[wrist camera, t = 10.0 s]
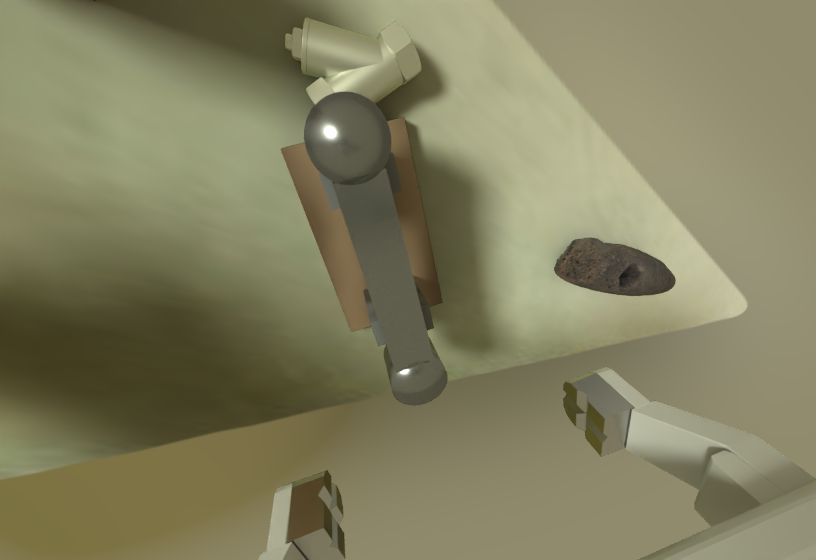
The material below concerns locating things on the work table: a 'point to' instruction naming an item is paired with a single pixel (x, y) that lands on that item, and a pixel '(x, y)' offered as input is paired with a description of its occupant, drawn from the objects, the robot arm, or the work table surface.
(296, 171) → the peg stand
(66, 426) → the work table surface
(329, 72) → the pipe fitting
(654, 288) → the perforated stone tool
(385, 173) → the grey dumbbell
